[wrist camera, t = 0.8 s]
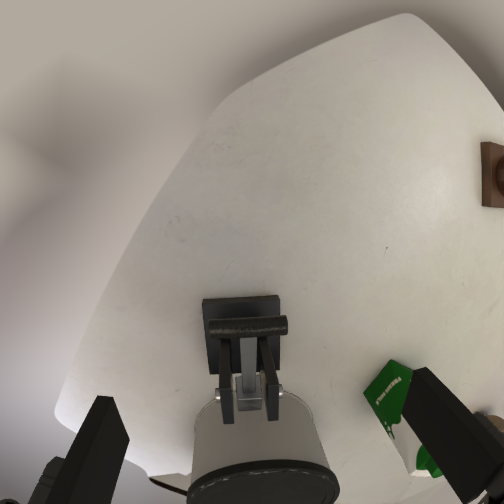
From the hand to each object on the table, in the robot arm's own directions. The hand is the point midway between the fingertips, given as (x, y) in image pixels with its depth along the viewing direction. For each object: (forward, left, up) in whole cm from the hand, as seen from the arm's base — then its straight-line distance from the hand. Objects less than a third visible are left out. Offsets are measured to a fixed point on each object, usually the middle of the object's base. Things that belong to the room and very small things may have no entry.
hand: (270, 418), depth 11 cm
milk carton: (+21, +23, -25) cm, 39 cm away
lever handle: (+4, 0, -12) cm, 12 cm away
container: (+27, +1, -25) cm, 36 cm away
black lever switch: (+9, 0, -25) cm, 26 cm away
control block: (-12, +42, -25) cm, 50 cm away
